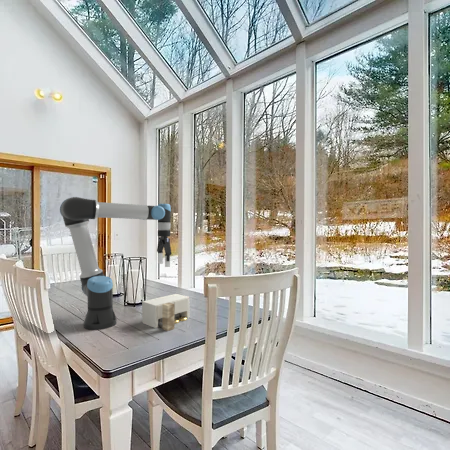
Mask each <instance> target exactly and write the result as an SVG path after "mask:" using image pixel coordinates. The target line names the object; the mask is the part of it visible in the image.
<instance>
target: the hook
mask: <svg viewBox="0 0 450 450" xmlns="http://www.w3.org/2000/svg"><path fill="white" fill-rule="evenodd" d="M179 317H181V316H180V313H178V314H174V304H172V303H165V304H162V318H161V319H158V328H161V329H162V330H164V331H167V332H170V331H172V330H175V324H174V319H179Z"/></svg>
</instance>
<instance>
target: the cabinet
mask: <svg viewBox="0 0 450 450" xmlns="http://www.w3.org/2000/svg"><path fill="white" fill-rule="evenodd" d="M190 301H191V300H190V296H187V295H183V294H179V293H174V294H168V295H164V296H160V297H156V298H152V299H148V300H142V302H141V303H142V304H141V308H142V310H141V311H142V314H141V315H142V320H141V321H142V324H144V325H147V326H149V327H151V328H154V329H157V328H159V326H158V319H161V318H162V304H165V303H172V304H174V314H178V313H180V317H187V319H189V318H190V317H191V316H190V315H191V314H190V310H191V309H190V308H191V307H190V304H191V303H190Z"/></svg>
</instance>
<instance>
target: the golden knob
mask: <svg viewBox="0 0 450 450" xmlns="http://www.w3.org/2000/svg"><path fill="white" fill-rule="evenodd" d="M179 323H180V321H179V318H178V319H174V325H175V324H176V325H177V324H179Z"/></svg>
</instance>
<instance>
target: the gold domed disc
mask: <svg viewBox="0 0 450 450" xmlns="http://www.w3.org/2000/svg"><path fill="white" fill-rule="evenodd" d="M178 319H179V322H180V321H181V322H185V321H188V318H187V317H182V316H180V317H179V318H178Z"/></svg>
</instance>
